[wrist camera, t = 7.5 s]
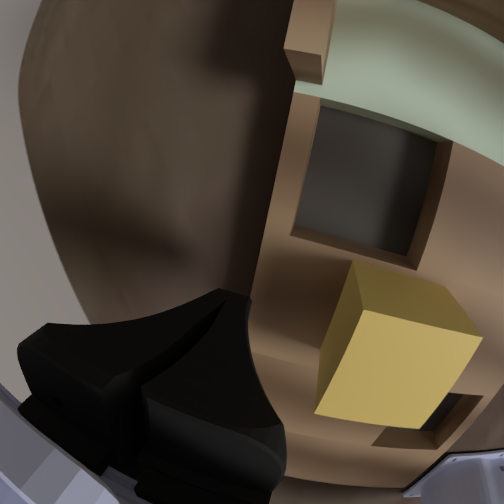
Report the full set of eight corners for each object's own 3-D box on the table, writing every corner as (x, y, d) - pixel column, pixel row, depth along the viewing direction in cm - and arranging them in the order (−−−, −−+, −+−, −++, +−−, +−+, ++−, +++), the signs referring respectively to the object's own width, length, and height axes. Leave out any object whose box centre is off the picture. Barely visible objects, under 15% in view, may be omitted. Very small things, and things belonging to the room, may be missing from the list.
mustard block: (404, 367, 12) (419, 428, 8) (319, 349, 13) (314, 413, 9) (445, 286, 11) (483, 337, 7) (352, 260, 11) (363, 309, 8)
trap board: (403, 469, 17) (405, 520, 12) (221, 437, 20) (198, 491, 15) (569, 100, 7) (625, 97, 2) (321, -19, 9) (313, -88, 4)
